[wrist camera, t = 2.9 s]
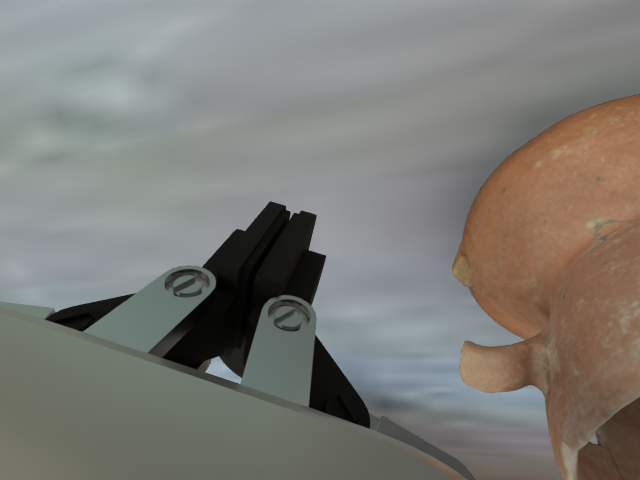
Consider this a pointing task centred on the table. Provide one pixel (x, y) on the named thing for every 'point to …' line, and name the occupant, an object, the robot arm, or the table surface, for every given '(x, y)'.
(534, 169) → the ceramic jug
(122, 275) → the table surface
